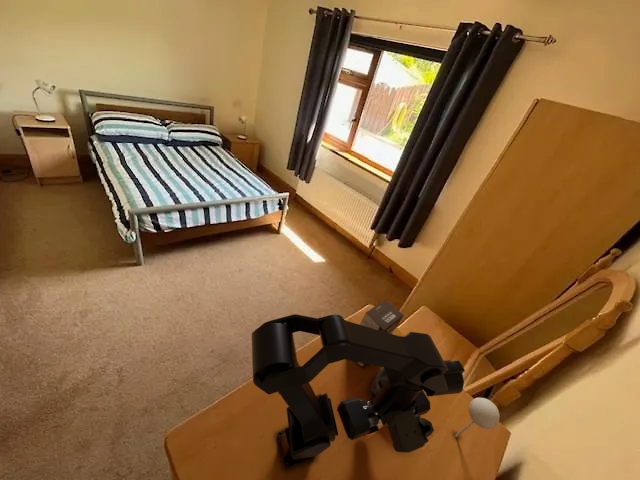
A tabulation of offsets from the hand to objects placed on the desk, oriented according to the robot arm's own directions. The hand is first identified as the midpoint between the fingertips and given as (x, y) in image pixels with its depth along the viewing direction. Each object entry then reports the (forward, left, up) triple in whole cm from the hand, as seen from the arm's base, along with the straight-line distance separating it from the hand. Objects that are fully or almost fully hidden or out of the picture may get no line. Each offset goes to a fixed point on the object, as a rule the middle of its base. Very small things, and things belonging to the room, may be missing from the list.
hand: (371, 425), depth 65 cm
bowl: (+12, +6, -6) cm, 14 cm away
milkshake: (0, 0, -3) cm, 3 cm away
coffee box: (+11, +19, -6) cm, 23 cm away
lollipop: (+23, -6, -6) cm, 25 cm away
